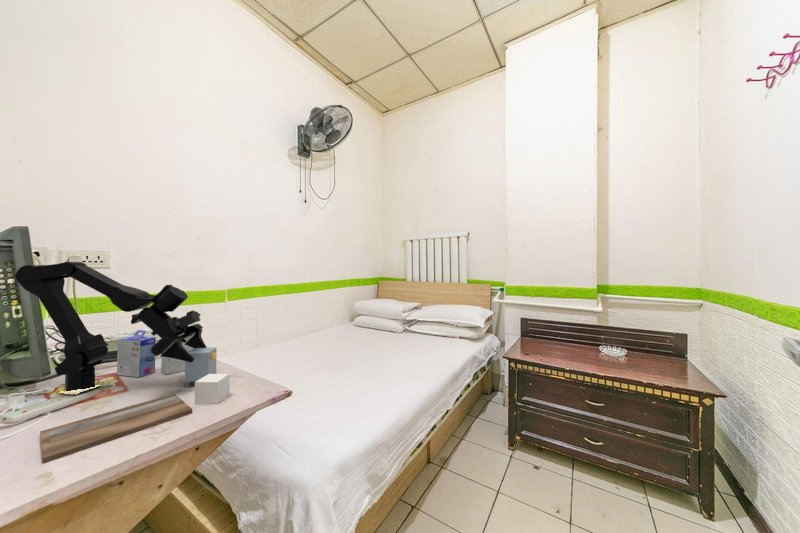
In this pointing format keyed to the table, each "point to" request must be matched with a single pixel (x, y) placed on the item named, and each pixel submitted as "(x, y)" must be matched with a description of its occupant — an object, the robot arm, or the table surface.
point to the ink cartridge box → (136, 355)
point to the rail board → (109, 426)
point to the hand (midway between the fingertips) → (200, 356)
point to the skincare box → (173, 363)
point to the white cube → (212, 388)
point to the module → (200, 365)
